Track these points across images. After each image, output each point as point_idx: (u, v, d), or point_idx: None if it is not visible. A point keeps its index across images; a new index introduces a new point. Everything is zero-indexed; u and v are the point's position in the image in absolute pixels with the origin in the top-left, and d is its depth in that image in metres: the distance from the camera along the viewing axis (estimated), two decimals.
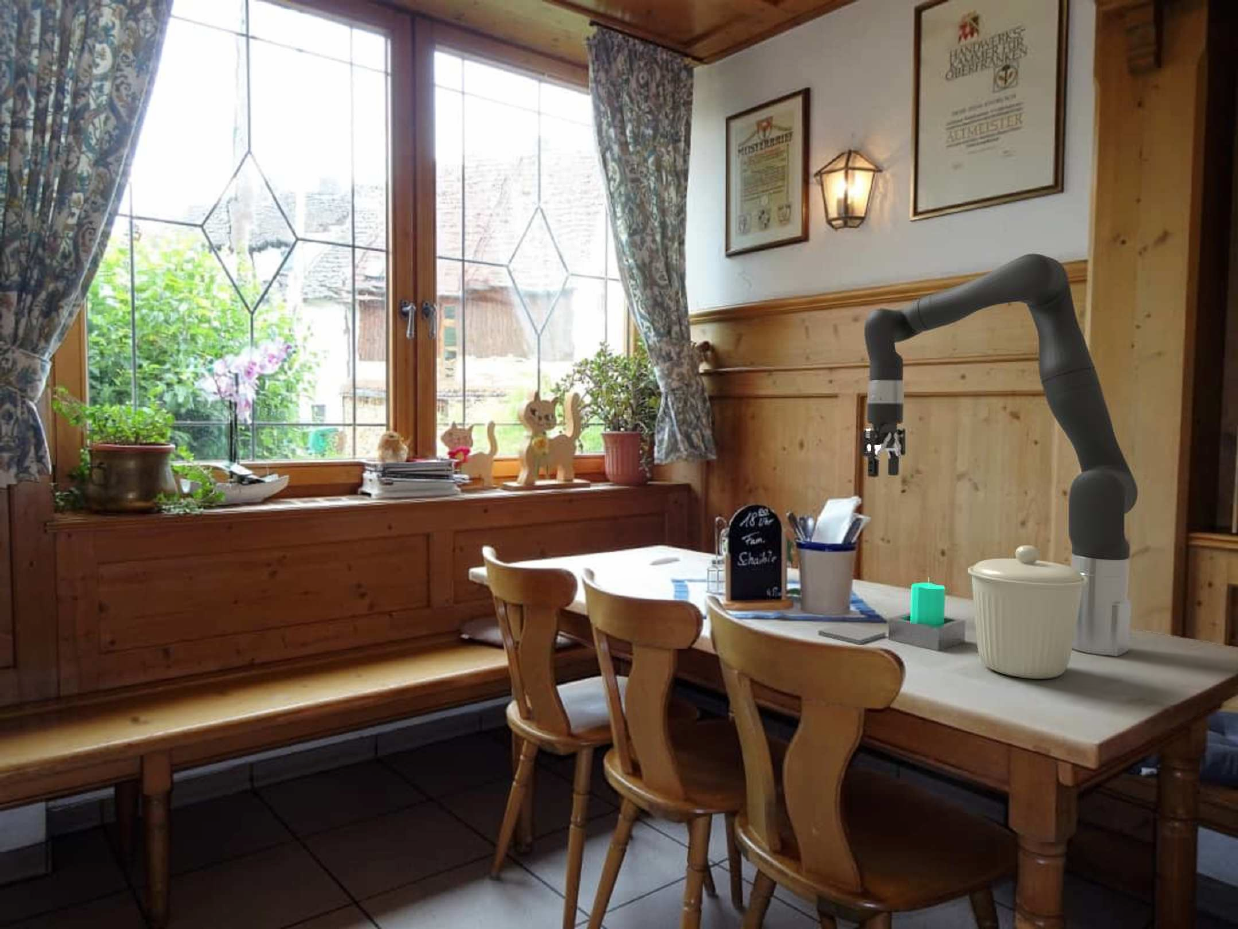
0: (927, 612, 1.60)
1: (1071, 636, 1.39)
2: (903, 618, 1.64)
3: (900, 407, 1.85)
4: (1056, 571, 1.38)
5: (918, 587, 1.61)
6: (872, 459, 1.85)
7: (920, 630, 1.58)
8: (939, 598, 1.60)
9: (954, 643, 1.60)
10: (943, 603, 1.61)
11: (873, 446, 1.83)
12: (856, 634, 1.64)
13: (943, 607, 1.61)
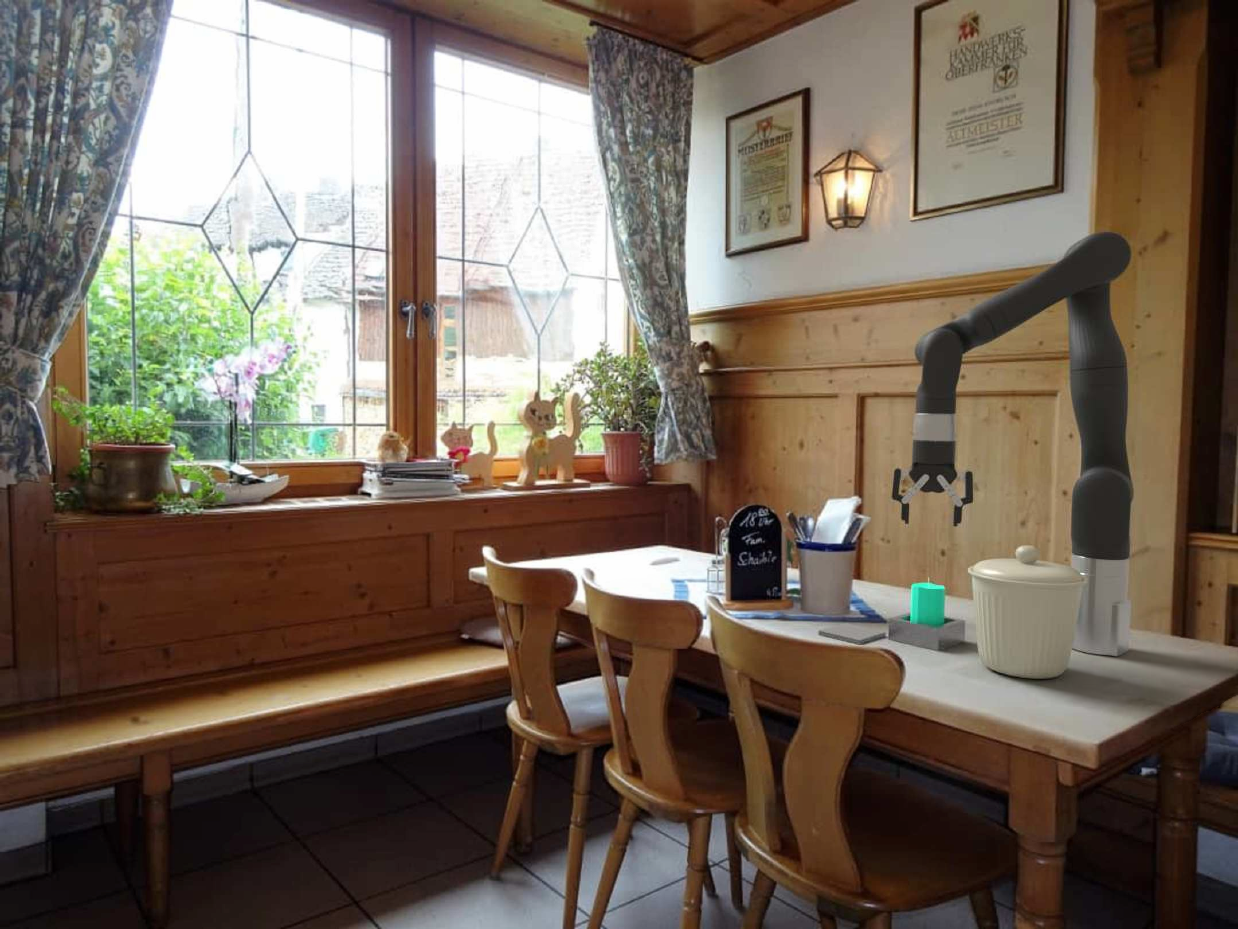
0: (927, 612, 1.60)
1: (1071, 636, 1.39)
2: (903, 618, 1.64)
3: None
4: (1056, 571, 1.38)
5: (918, 587, 1.61)
6: None
7: (920, 630, 1.58)
8: (939, 598, 1.60)
9: (954, 643, 1.60)
10: (943, 603, 1.61)
11: None
12: (856, 634, 1.64)
13: (943, 607, 1.61)
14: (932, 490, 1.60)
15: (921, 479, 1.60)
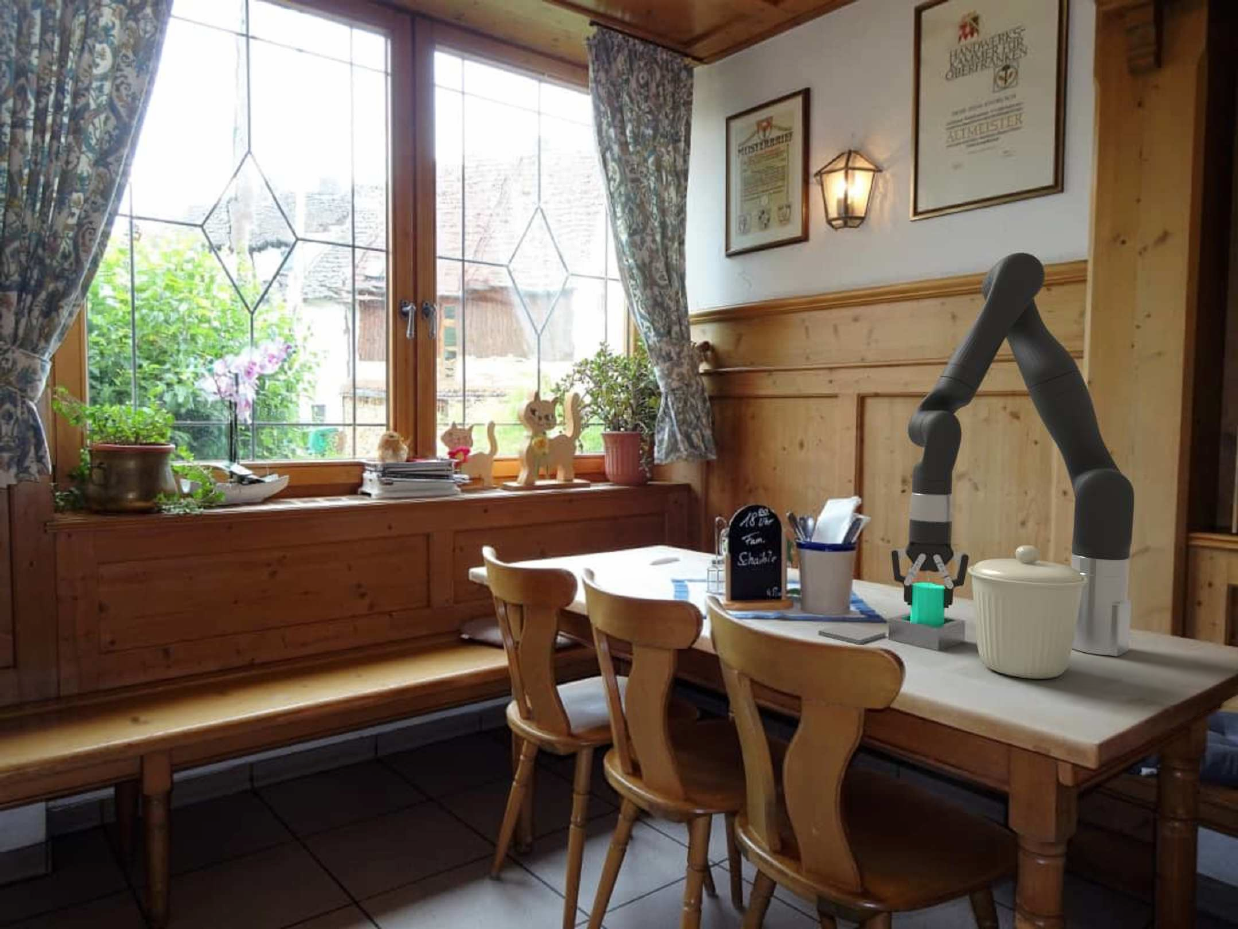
0: (927, 612, 1.60)
1: (1071, 636, 1.39)
2: (903, 618, 1.64)
3: None
4: (1056, 571, 1.38)
5: (918, 587, 1.61)
6: None
7: (920, 630, 1.58)
8: (939, 598, 1.60)
9: (954, 643, 1.60)
10: (943, 603, 1.61)
11: None
12: (856, 634, 1.64)
13: (943, 607, 1.61)
14: (929, 569, 1.61)
15: (918, 559, 1.61)
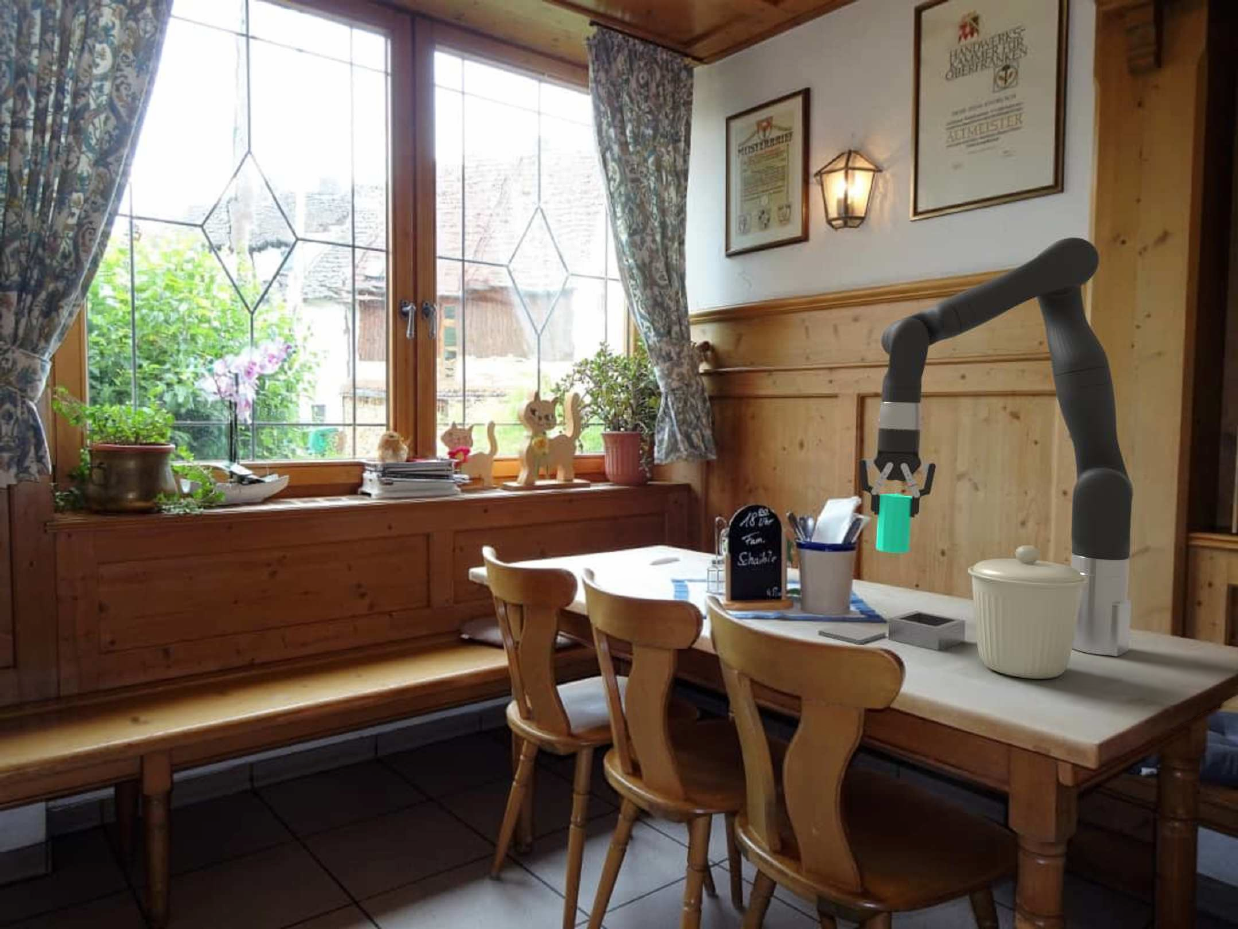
0: (893, 521, 1.61)
1: (1071, 636, 1.39)
2: (903, 618, 1.64)
3: None
4: (1056, 571, 1.38)
5: (885, 496, 1.61)
6: None
7: (920, 630, 1.58)
8: (905, 506, 1.60)
9: (954, 643, 1.60)
10: (910, 512, 1.61)
11: None
12: (856, 634, 1.64)
13: (909, 516, 1.62)
14: (896, 478, 1.62)
15: (886, 468, 1.61)
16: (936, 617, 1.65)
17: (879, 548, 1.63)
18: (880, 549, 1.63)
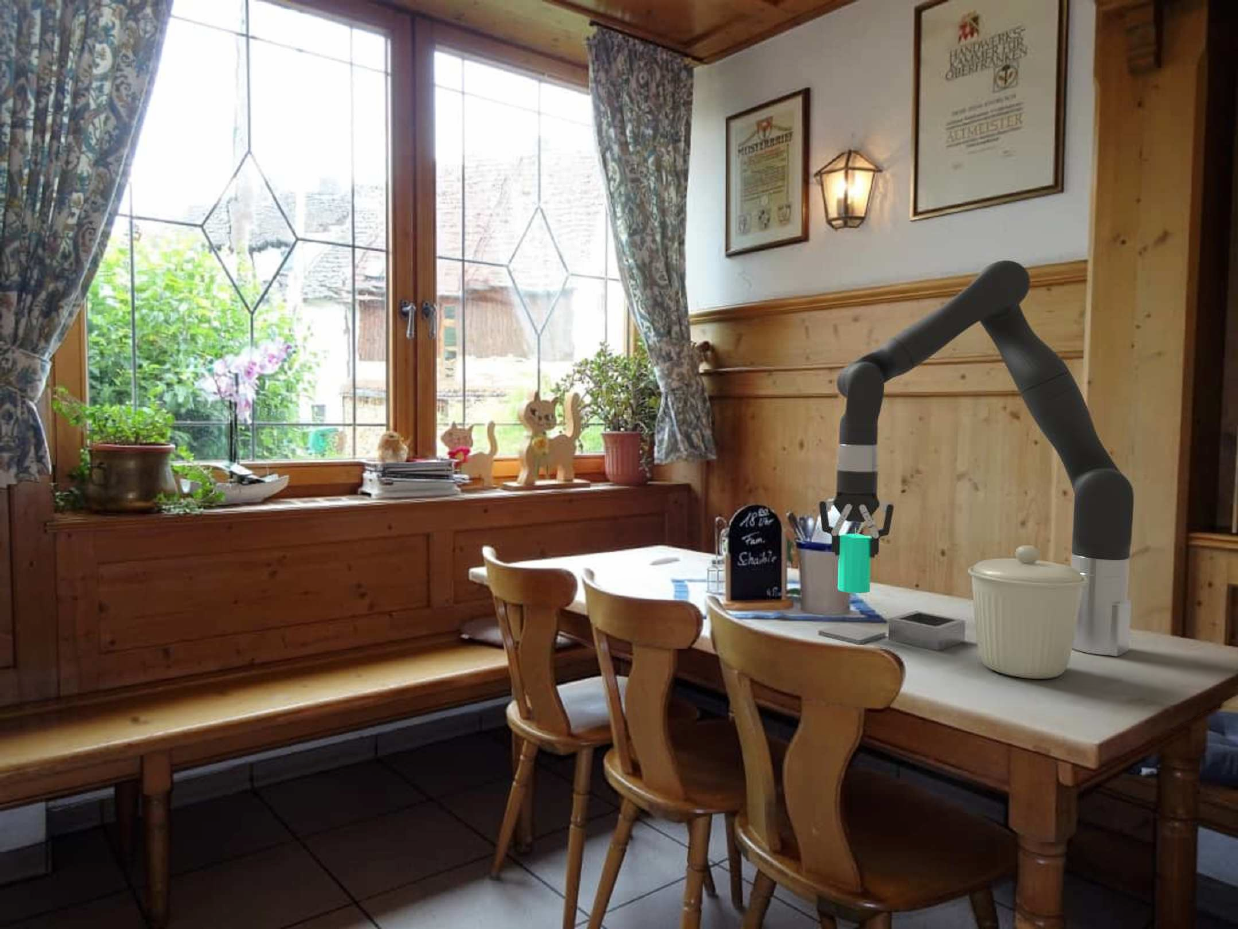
0: (853, 561, 1.62)
1: (1071, 636, 1.39)
2: (903, 618, 1.64)
3: None
4: (1056, 571, 1.38)
5: (844, 537, 1.63)
6: None
7: (920, 630, 1.58)
8: (864, 547, 1.62)
9: (954, 643, 1.60)
10: (869, 552, 1.63)
11: None
12: (856, 634, 1.64)
13: (869, 556, 1.63)
14: (855, 519, 1.64)
15: (845, 509, 1.63)
16: (936, 617, 1.65)
17: (840, 588, 1.64)
18: (841, 589, 1.64)
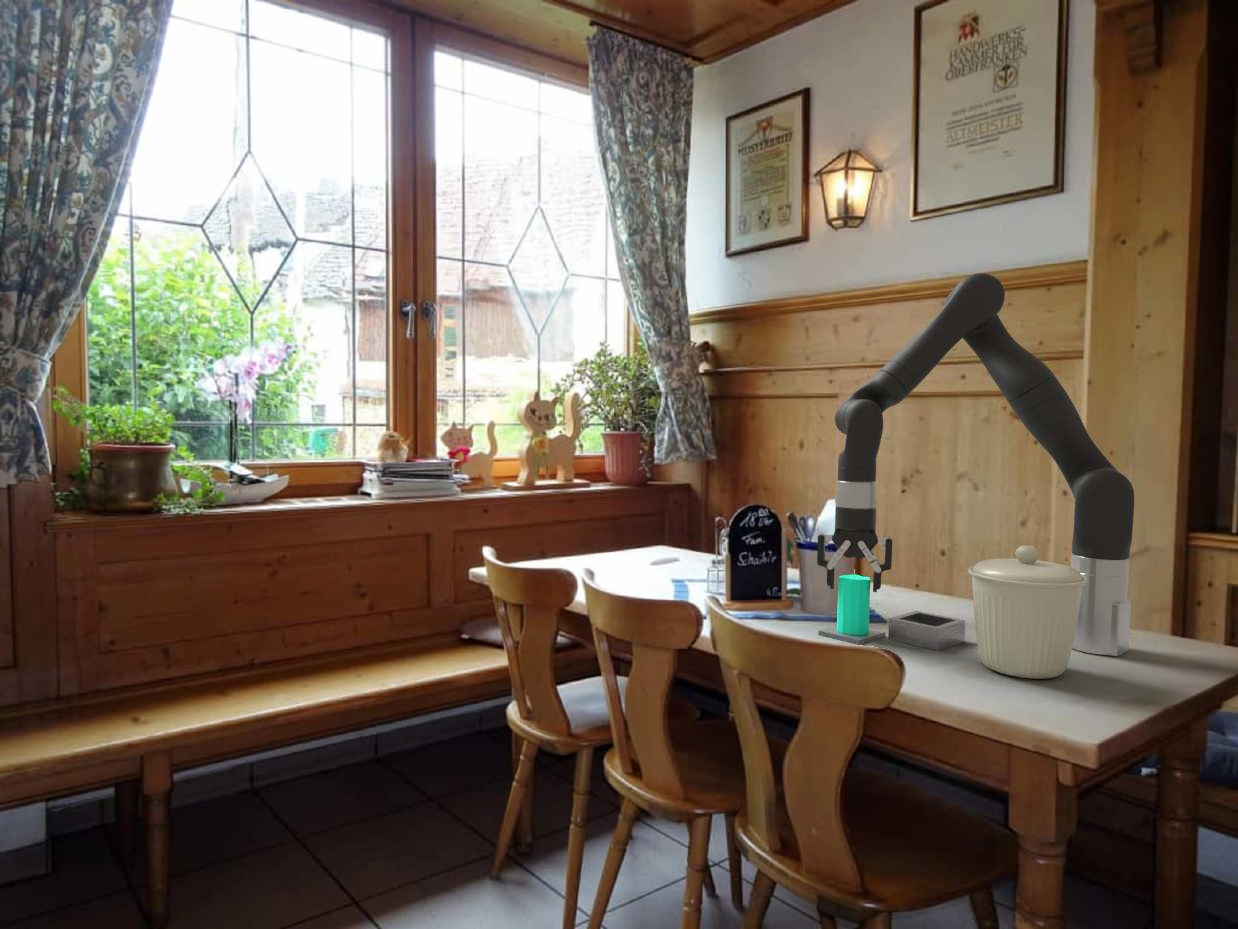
0: (852, 603, 1.63)
1: (1071, 636, 1.39)
2: (903, 618, 1.64)
3: None
4: (1056, 571, 1.38)
5: (843, 578, 1.64)
6: None
7: (920, 630, 1.58)
8: (863, 589, 1.63)
9: (954, 643, 1.60)
10: (868, 594, 1.64)
11: None
12: None
13: (868, 598, 1.64)
14: (854, 555, 1.64)
15: (843, 545, 1.64)
16: (936, 617, 1.65)
17: (839, 630, 1.65)
18: (840, 631, 1.65)
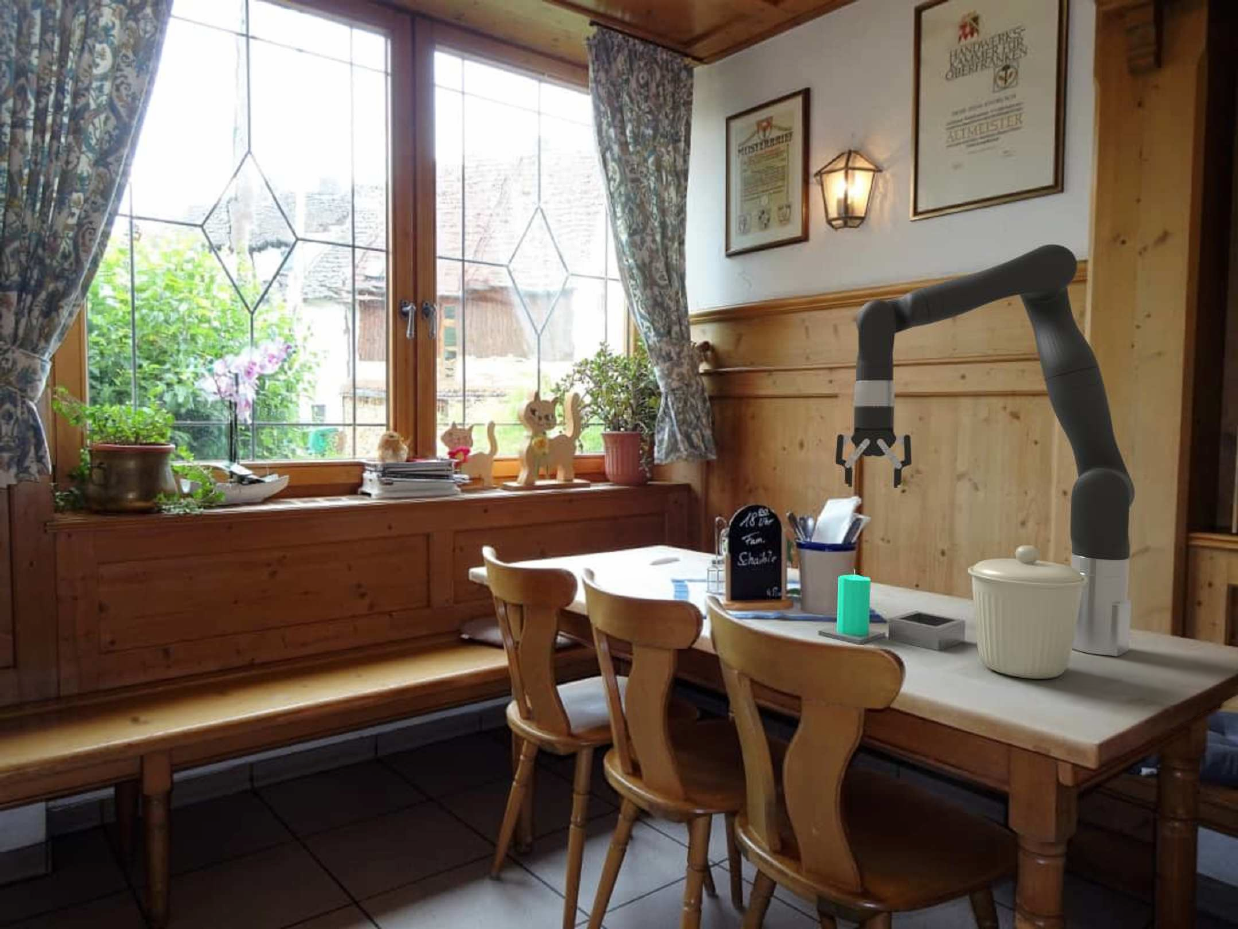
0: (852, 604, 1.63)
1: (1071, 636, 1.39)
2: (903, 618, 1.64)
3: None
4: (1056, 571, 1.38)
5: (843, 579, 1.64)
6: None
7: (920, 630, 1.58)
8: (863, 589, 1.63)
9: (954, 643, 1.60)
10: (868, 594, 1.64)
11: None
12: None
13: (868, 598, 1.64)
14: (873, 454, 1.68)
15: (862, 443, 1.68)
16: (936, 617, 1.65)
17: (839, 630, 1.65)
18: (840, 631, 1.65)
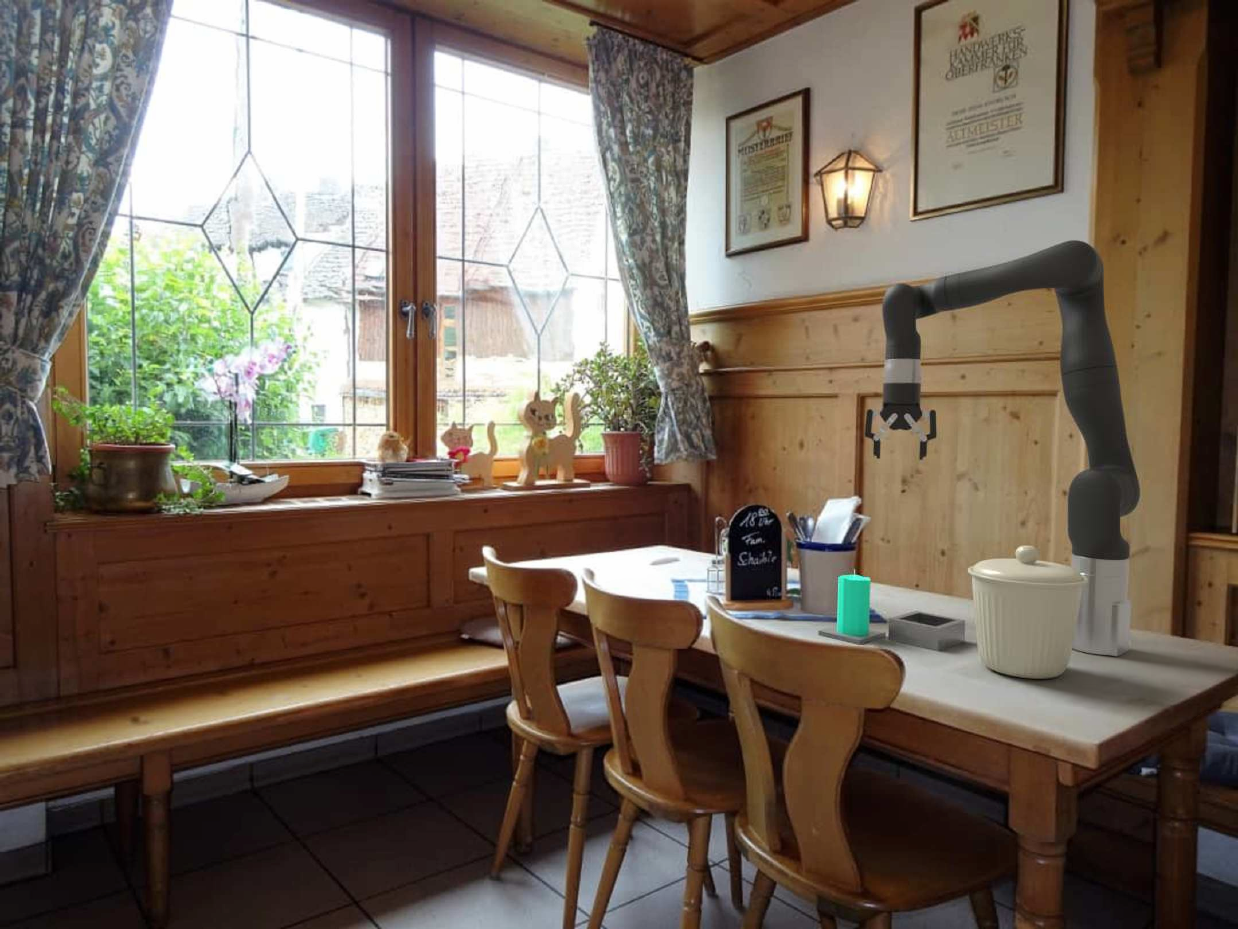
0: (852, 604, 1.63)
1: (1071, 636, 1.39)
2: (903, 618, 1.64)
3: None
4: (1056, 571, 1.38)
5: (843, 579, 1.64)
6: None
7: (920, 630, 1.58)
8: (863, 589, 1.63)
9: (954, 643, 1.60)
10: (868, 594, 1.64)
11: None
12: None
13: (868, 598, 1.64)
14: (900, 428, 1.80)
15: (890, 418, 1.80)
16: (936, 617, 1.65)
17: (839, 630, 1.65)
18: (840, 631, 1.65)
